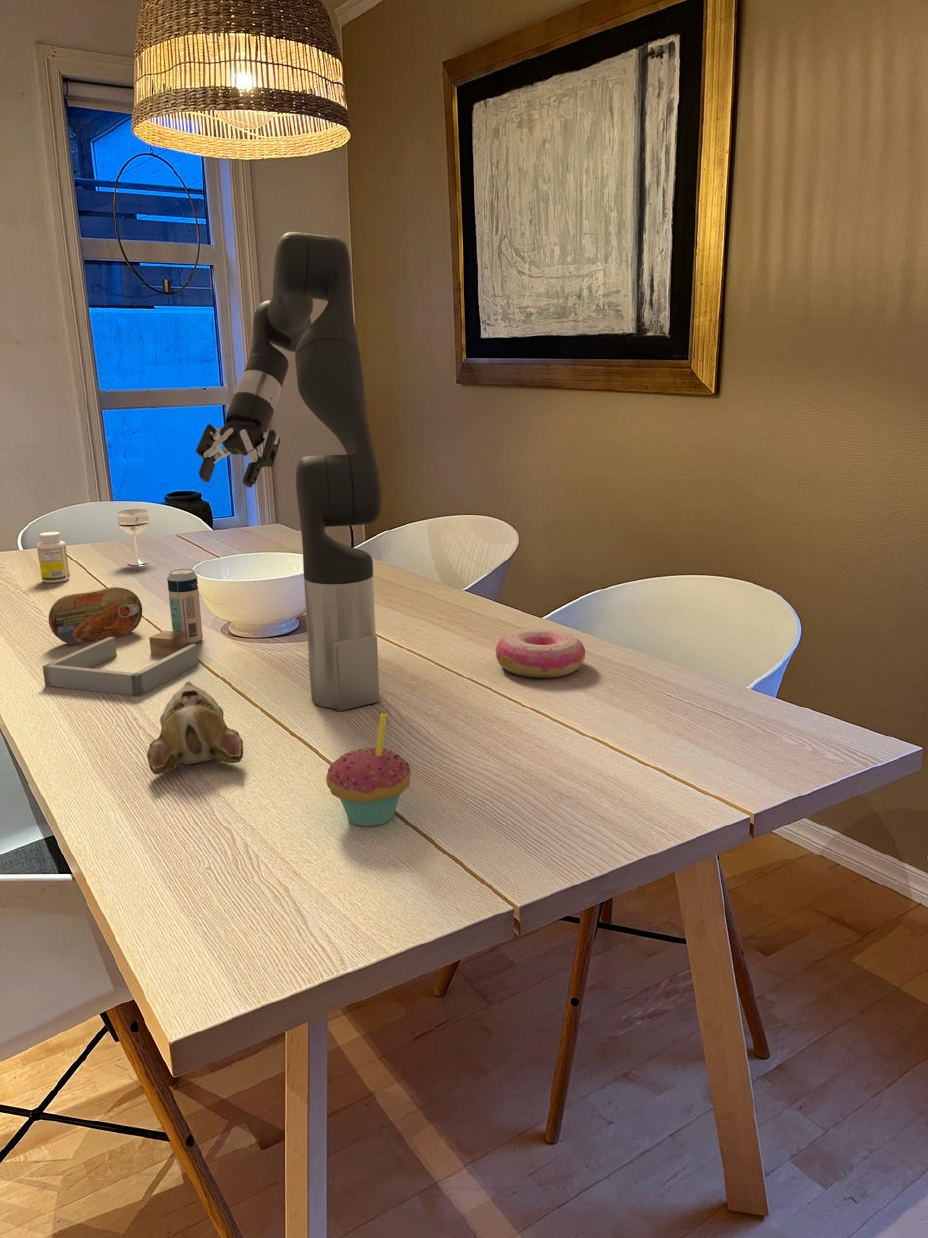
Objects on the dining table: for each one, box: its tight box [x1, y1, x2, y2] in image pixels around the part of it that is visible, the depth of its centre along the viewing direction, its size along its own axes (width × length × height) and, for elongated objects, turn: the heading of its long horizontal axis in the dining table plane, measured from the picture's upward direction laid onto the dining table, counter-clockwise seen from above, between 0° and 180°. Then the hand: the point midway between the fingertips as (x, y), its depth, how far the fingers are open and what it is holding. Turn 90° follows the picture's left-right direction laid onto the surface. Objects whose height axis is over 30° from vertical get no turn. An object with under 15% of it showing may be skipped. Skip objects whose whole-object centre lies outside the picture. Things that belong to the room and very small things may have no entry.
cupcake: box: [325, 706, 411, 827], centre depth 96 cm, size 9×8×12 cm
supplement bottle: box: [36, 531, 71, 584], centre depth 200 cm, size 6×6×10 cm
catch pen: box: [42, 637, 200, 697], centre depth 141 cm, size 15×16×3 cm
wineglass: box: [117, 508, 150, 564], centre depth 216 cm, size 7×7×12 cm
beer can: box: [166, 568, 204, 646], centre depth 156 cm, size 5×5×12 cm
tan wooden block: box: [148, 630, 188, 657], centre depth 152 cm, size 4×4×3 cm
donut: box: [495, 628, 586, 679], centre depth 142 cm, size 14×13×5 cm
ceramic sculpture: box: [146, 681, 244, 775], centre depth 111 cm, size 11×9×15 cm
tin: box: [48, 586, 143, 646], centre depth 159 cm, size 15×3×8 cm, turn 129°
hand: (225, 482), depth 162 cm, fingers open, 8 cm apart
